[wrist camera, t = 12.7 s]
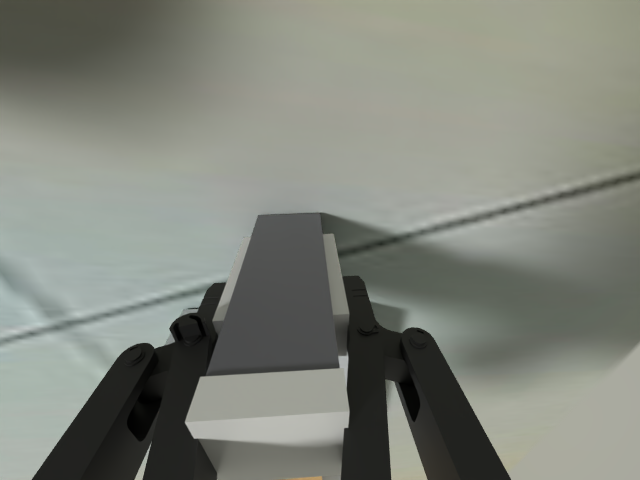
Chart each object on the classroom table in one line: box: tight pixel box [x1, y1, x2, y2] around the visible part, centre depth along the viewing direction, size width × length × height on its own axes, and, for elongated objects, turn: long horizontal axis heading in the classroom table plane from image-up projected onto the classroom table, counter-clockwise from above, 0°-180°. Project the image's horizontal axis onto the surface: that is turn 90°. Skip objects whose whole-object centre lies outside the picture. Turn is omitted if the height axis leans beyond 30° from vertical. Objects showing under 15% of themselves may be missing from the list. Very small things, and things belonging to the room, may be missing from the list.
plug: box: [185, 213, 350, 480], centre depth 13 cm, size 4×4×12 cm
